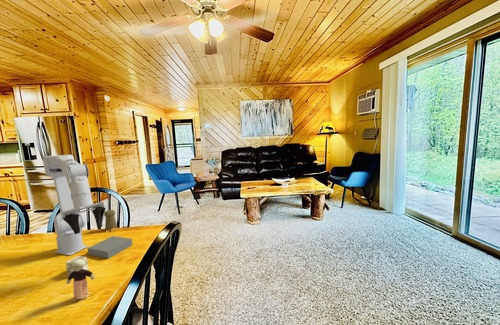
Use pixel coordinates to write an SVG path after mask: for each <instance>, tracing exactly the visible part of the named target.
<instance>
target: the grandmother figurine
mask: <svg viewBox="0 0 500 325" xmlns="http://www.w3.org/2000/svg"><path fill="white" fill-rule="evenodd" d="M85 264H86V263H85V261H83V260H81V259H78V260H75V261H73V262H72V267H73V270H74V271H73V272H72V273H71V274H70V275H68V277H67V280H66V282H65V283H66V285H69V284H71V281H72V280H73V282H72V285H73V297H72V298H71V299H70V301H71V302H76V301H78V300H81V301H83V300H86V299H88V298H89V295H90V293H89V284H88V280H87V277H88V278H90V279H91V281H93V280H95V278H96V277H95V276H94V273H93V271H90V270H89V269H88V270H85V269H82V268H83V266H84V265H85Z"/></svg>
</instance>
